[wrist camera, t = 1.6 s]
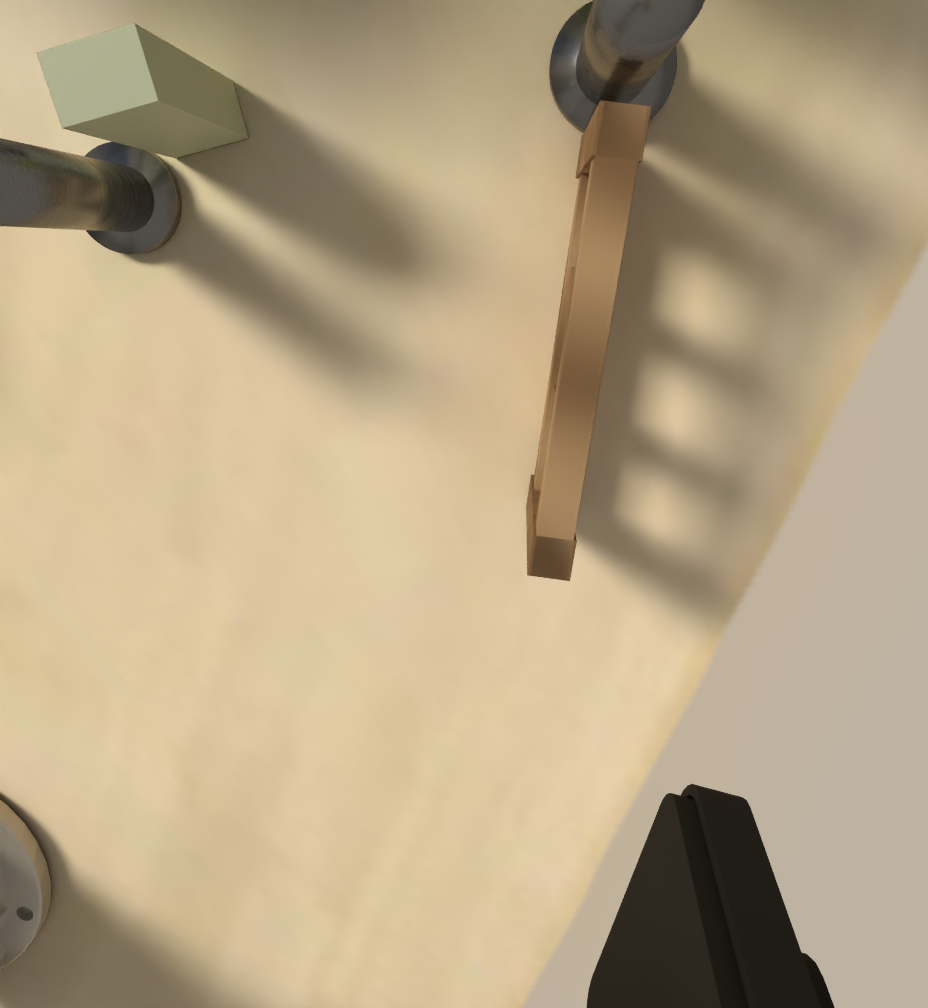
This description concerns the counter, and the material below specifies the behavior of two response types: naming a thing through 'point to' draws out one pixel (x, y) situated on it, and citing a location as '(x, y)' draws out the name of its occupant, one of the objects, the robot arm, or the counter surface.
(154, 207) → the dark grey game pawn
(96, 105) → the pale green rectangular block
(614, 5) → the hinge post
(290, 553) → the counter surface
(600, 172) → the gate
